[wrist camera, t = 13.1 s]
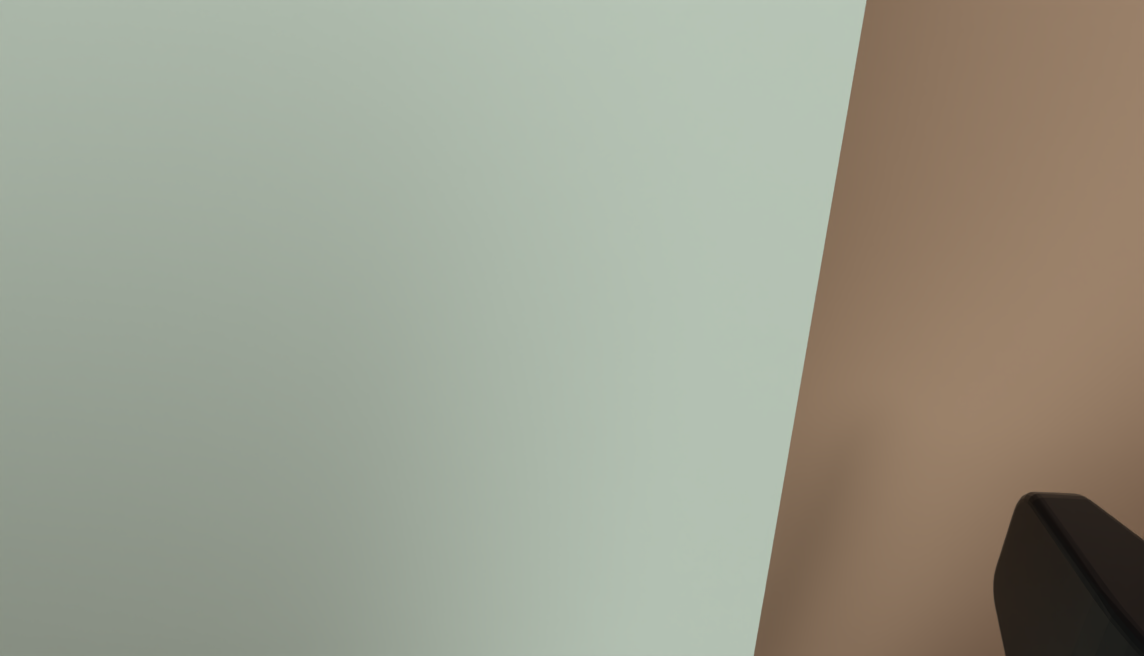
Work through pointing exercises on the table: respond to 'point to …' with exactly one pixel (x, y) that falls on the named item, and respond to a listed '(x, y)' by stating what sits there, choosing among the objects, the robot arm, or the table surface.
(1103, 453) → the walnut board
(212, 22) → the sanding block
